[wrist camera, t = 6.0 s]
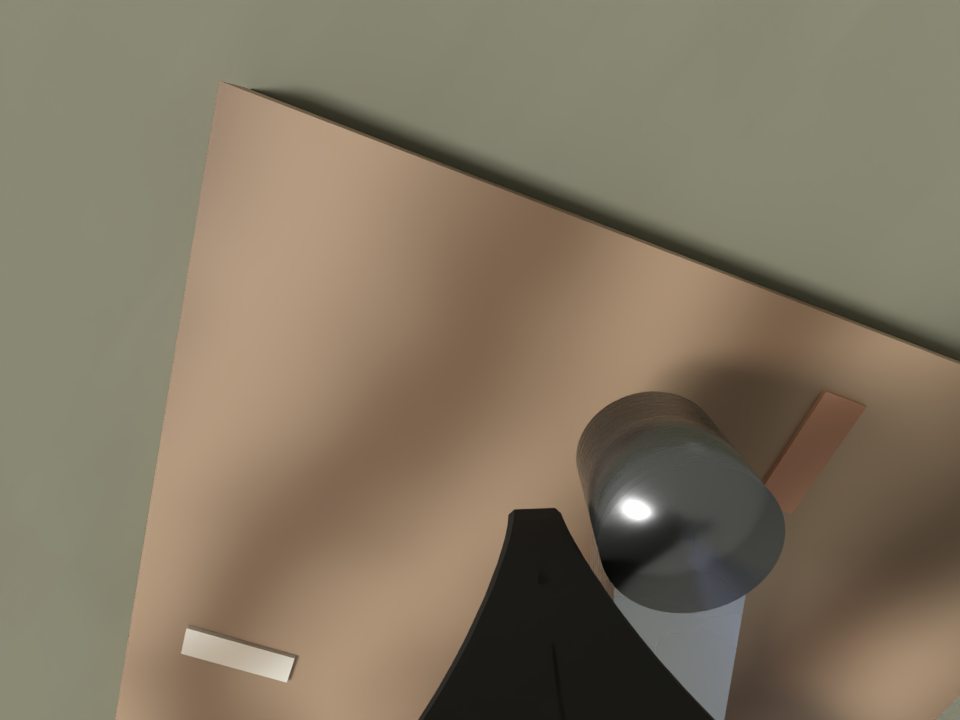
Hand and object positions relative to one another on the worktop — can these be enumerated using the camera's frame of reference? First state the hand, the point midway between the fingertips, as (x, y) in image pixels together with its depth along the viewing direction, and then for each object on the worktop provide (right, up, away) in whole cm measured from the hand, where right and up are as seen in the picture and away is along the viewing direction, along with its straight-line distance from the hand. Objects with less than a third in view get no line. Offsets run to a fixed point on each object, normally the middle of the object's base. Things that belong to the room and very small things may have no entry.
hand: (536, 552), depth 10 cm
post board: (+1, -4, +6) cm, 7 cm away
